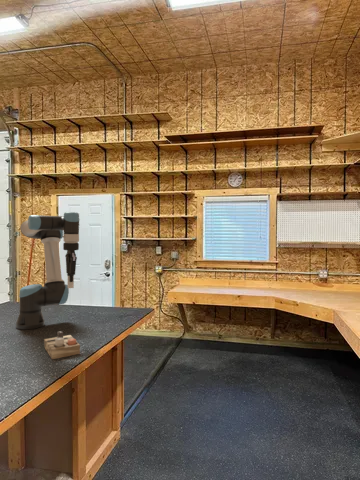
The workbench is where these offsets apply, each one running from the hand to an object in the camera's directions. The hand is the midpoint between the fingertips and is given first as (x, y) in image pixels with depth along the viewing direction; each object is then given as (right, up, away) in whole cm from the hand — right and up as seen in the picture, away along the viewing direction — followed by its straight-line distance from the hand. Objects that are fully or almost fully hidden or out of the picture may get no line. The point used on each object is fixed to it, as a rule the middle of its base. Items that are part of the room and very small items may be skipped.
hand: (70, 287), depth 164 cm
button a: (+7, -24, -18) cm, 31 cm away
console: (+2, -27, -17) cm, 31 cm away
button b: (+2, -23, -21) cm, 31 cm away
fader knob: (0, -22, -13) cm, 26 cm away
